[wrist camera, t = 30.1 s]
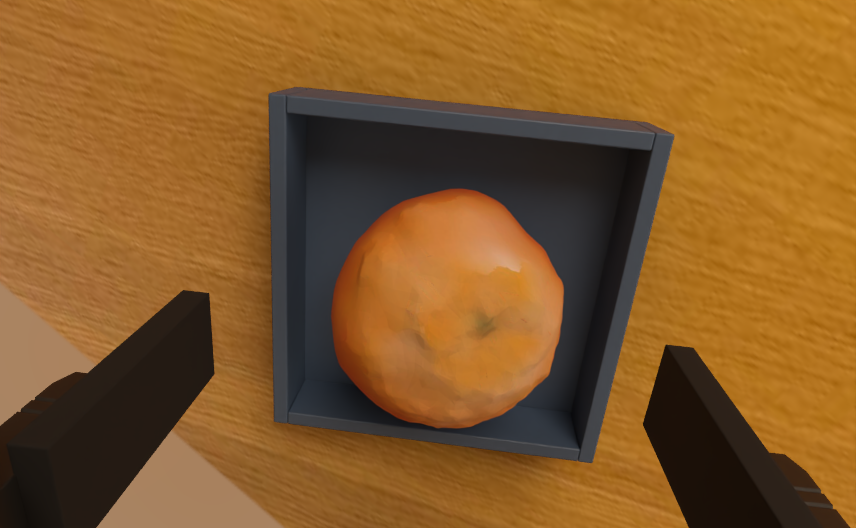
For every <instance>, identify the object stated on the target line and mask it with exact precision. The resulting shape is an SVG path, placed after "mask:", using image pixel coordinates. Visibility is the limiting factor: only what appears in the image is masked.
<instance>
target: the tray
mask: <svg viewBox="0 0 856 528" xmlns="http://www.w3.org/2000/svg"><path fill="white" fill-rule="evenodd" d="M673 140H674V134H672V133H669V132H667V131H665V130H663V129H661V128H658V127H656V126H654V125H652V124H650V123H647V122H638V121H628V120H618V119H608V118H598V117H588V116H578V115H569V114H559V113H549V112H539V111H529V110H519V109H509V108H499V107H490V106H480V105H470V104H460V103H450V102H440V101H430V100H421V99H411V98H401V97H391V96H381V95H371V94H361V93H352V92H342V91H332V90H322V89H312V88H302V87H294V88H291V89H286V90H282V91H277V92H273V93H269V146H270V207H271V268H272V329H273V390H274V422H279V423H289V424H295V425H303V426H310V427H318V428H326V429H334V430H341V431H349V432H357V433H364V434H372V435H380V436H388V437H395V438H403V439H411V440H419V441H426V442H434V443H442V444H450V445H457V446H465V447H473V448H480V449H488V450H496V451H504V452H511V453H519V454H527V455H535V456H542V457H550V458H558V459H565V460H573V461H577V460H578V461H580V462H587V463H592V462H593V458H594V454H595V450H596V446H597V442H598V438H599V434H600V430H601V426H602V422H603V418H604V414H605V410H606V406H607V402H608V399H609V395H610V391H611V387H612V383H613V379H614V375H615V371H616V367H617V363H618V359H619V355H620V351H621V347H622V343H623V339H624V335H625V331H626V327H627V323H628V319H629V315H630V311H631V307H632V303H633V299H634V295H635V291H636V287H637V283H638V279H639V275H640V271H641V267H642V263H643V259H644V255H645V251H646V247H647V243H648V239H649V235H650V231H651V227H652V223H653V219H654V215H655V211H656V207H657V203H658V199H659V195H660V191H661V187H662V183H663V179H664V175H665V171H666V167H667V163H668V159H669V155H670V151H671V147H672V144H673ZM447 189H468V190H474V191H478V192H480V193H483V194H485V195H487V196H489V197H491V198H493V199H495V200H497V201H498V202H500V203H501V204H502V205H504V206H505V207H506V208H507V210H508V211H509V212H510V213H511V214H512V215H513V217H514V218H515V219H516V220H517V222H518V223H519V224H520V225H521V226H522V228H523V229H524V230H525V231H526V232H527V233H528V234H529V235H530V236H531V237H532V238H533V239H534V240H535V241H536V242H537V243H538V244H540V245H541V246H542V247H543V249H544V250H545V251H546V253H547V255H548V257H549V259H550V262H551V264H552V266H553V267H554V269H555V271H556V273H557V275H558V277H559V278H560V279H561V281H562V283H563V287H564V296H563V313H562V323H561V327H560V337H559V342H558V344H557V346H556V349H555V353H554V359H553V362H552V365H551V369H550V373H549V375H548V377H547V378H545V379H544V380H543V381H542V382H541V383H540V384H538V385H537V386H536V387H535V388H534V389H533V390H532V391H531V392H530V393H529V394H528V395H527V397H525V398H524V399H523V400H521V401H519V402H518V403H517V404H516V405H515V406H514V407H513V408H512V409H510V410H508V411H507V412H505V413H504V414H502V415H500V416H498V417H495V418H491V419H489V420H486V421H482V422H481V423H479V424H476V425H474V426H472V427H466V428H435V427H432V426H427V425H425V424H421V423H414V422H407V421H404V420H402V419H399V418H397V417H395V416H393V415H392V414H390V413H389V412H387V411H385V410H383V409H382V408H380V407H379V406H377V405H376V404H375V403H374V402H373V401H371V400H370V399H369V398H368V397H367V396H366V395H365V394H364V393H363V392H362V391H361V390H360V389H359V388H358V387H357V386H356V385H355V384H354V383H353V381H352V380H351V379H350V378H349V377H348V375H347V374H346V373H345V372H344V371H343V369H342V368H341V366H340V364H339V362H338V359H337V356H336V352H335V347H334V340H333V330H332V320H331V310H332V302H333V294H334V289H335V284H336V281H337V278H338V276H339V274H340V271H341V269H342V267H343V265H344V263H345V261H346V259H347V257H348V255H349V253H350V251H351V249H352V248H353V246H354V244H355V243H356V241H357V240H358V239H359V238H360V237H361V236H362V235H363V234H364V233H365V232H366V231H367V229H368V228H369V227H370V226H371V225H372V224H373V223H374V222H375V221H376V220H377V219H378V218H379V217H380V216H381V215H382V214H383V213H385V212H386V211H387V210H389V209H390V208H392V207H394V206H395V205H397V204H399V203H400V202H402V201H405V200H408V199H411V198H415V197H419V196H422V195H426V194H430V193H434V192H439V191H443V190H447Z"/></svg>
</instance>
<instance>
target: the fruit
mask: <svg viewBox="0 0 856 528" xmlns="http://www.w3.org/2000/svg"><path fill="white" fill-rule="evenodd" d="M563 296H564V287H563V283H562V281H561V279H560V278H559V277H558V275H557V273H556V271H555V269H554V267H553V266H552V264H551V262H550V259H549V257H548V255H547V253H546V251H545V250H544V249H543V247H542V246H541V245H540V244H538V243H537V242H536V241H535V240H534V239H533V238H532V237H531V236H530V235H529V234H528V233H527V232H526V231H525V230H524V229H523V228H522V226H521V225H520V224H519V223H518V222H517V220H516V219H515V218H514V217H513V215H512V214H511V213H510V212H509V211H508V210H507V208H506V207H505V206H504V205H502V204H501V203H500V202H498V201H497V200H495V199H493V198H491V197H489V196H487V195H485V194H483V193H480V192H478V191H474V190H468V189H447V190H443V191H439V192H434V193H430V194H426V195H422V196H419V197H415V198H411V199H408V200H405V201H402V202H400V203H399V204H397V205H395V206H394V207H392V208H390V209H389V210H387V211H386V212H385V213H383V214H382V215H381V216H380V217H379V218H378V219H377V220H376V221H375V222H374V223H373V224H372V225H371V226H370V227H369V228H368V229H367V231H366V232H365V233H364V234H363V235H362V236H361V237H360V238H359V239H358V240H357V241H356V243H355V244H354V246H353V248H352V249H351V251H350V253H349V255H348V257H347V259H346V261H345V263H344V265H343V267H342V269H341V271H340V274H339V276H338V278H337V281H336V284H335V289H334V294H333V302H332V310H331V320H332V330H333V340H334V347H335V352H336V356H337V359H338V362H339V364H340V366H341V368H342V369H343V371H344V372H345V373H346V374H347V375H348V377H349V378H350V379H351V380H352V381H353V383H354V384H355V385H356V386H357V387H358V388H359V389H360V390H361V391H362V392H363V393H364V394H365V395H366V396H367V397H368V398H369V399H370V400H371V401H373V402H374V403H375V404H376V405H377V406H379V407H380V408H382V409H383V410H385V411H387V412H389V413H390V414H392V415H393V416H395V417H397V418H399V419H402V420H404V421H407V422H414V423H421V424H425V425H427V426H432V427H435V428H466V427H472V426H474V425H476V424H479V423H481V422H482V421H486V420H489V419H491V418H495V417H498V416H500V415H502V414H504V413H505V412H507V411H508V410H510V409H512V408H513V407H514V406H515V405H516V404H517V403H518V402H519V401H521V400H523V399H524V398H525V397H527V395H528V394H529V393H530V392H531V391H532V390H533V389H534V388H535V387H536V386H537V385H538V384H540V383H541V382H542V381H543V380H544V379H545V378H547V377H548V375H549V373H550V369H551V365H552V362H553V359H554V353H555V349H556V346H557V344H558V342H559V337H560V327H561V323H562V313H563Z"/></svg>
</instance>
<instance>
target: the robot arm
mask: <svg viewBox="0 0 856 528" xmlns="http://www.w3.org/2000/svg"><path fill="white" fill-rule="evenodd" d="M213 375H214V360H213V345H212V330H211V315H210V300H209V293H203V292H194V291H185V290H183V291H182V292H181V293H179V294H178V295H177V296H176V297H175V298H174V299H172V300H171V301H170V302H169V303H168V304H167V305H166V306H164V307H163V308H162V309H161V310H160V311H159V312H158V313H156V314H155V315H154V316H153V317H152V318H151V319H149V320H148V321H147V322H146V323H145V324H144V325H143V326H141V327H140V328H139V329H138V330H137V331H136V332H134V333H133V334H132V335H131V336H130V337H129V338H128V339H126V340H125V341H124V342H123V343H122V344H121V345H120V346H118V347H117V348H116V349H115V350H114V351H113V352H111V353H110V354H109V355H108V356H107V357H106V358H105V359H103V360H102V361H101V362H100V363H99V364H98V365H97V366H95V367H94V368H93V369H92V370H91V371H90V372H89V373H80V372H75V373H73V374H71V375H68V376H66V377H64V378H62V379H60V380H58V381H56V382H54V383H52V384H51V385H50V386H48V387H47V388H46V389H45V390H44V391H43V392H41V393H40V394H39V395H37V396H36V397H35V400H31V401H30V402H29V403H28V404H27V405H25V406H24V407H23V408H22V409H21V412H17V413H16V414H14V415H13V416H12V417H11V418H9V419H8V420H7V421H6V422H5V423H3V424H2V425H1V426H0V528H96V527H97V526H98V525H99V523H100V522H101V521H102V520H103V518H104V517H105V516H106V514H107V513H108V512H109V510H110V509H111V508H112V506H113V505H114V504H115V503H116V501H117V500H118V499H119V497H120V496H121V495H122V493H123V492H124V491H125V490H126V488H127V487H128V486H129V484H130V483H131V482H132V481H133V479H134V478H135V477H136V475H137V474H138V473H139V471H140V470H141V469H142V468H143V466H144V465H145V464H146V462H147V461H148V460H149V458H150V457H151V456H152V455H153V453H154V452H155V451H156V449H157V448H158V447H159V445H160V444H161V443H162V441H163V440H164V439H165V438H166V436H167V435H168V434H169V432H170V431H171V430H172V428H173V427H174V426H175V425H176V423H177V422H178V421H179V419H180V418H181V417H182V415H183V414H184V413H185V412H186V410H187V409H188V408H189V406H190V405H191V404H192V402H193V401H194V400H195V399H196V397H197V396H198V395H199V393H200V392H201V391H202V389H203V388H204V387H205V386H206V384H207V383H208V382H209V380H210V379H211V378H212V376H213ZM643 426H644V428H645V430H646V433H647V435H648V437H649V439H650V442H651V444H652V446H653V448H654V451H655V453H656V455H657V457H658V459H659V462H660V464H661V466H662V468H663V471H664V473H665V475H666V477H667V480H668V482H669V484H670V486H671V489H672V491H673V493H674V495H675V497H676V500H677V502H678V504H679V506H680V509H681V511H682V513H683V515H684V518H685V520H686V522H687V524H688V527H689V528H850V527H849V526H848V524H847V523H846V522H845V521H844V519H843V518H842V517H841V515H840V514H839V513H838V512H837V510H836V509H833V505H832V504H831V503H830V501H829V500H828V499H827V497H826V496H825V495H824V494H821V490H820V488H819V487H818V486H817V485H816V483H815V482H814V481H813V479H812V478H811V477H810V476H809V474H808V473H807V472H806V471H805V470H804V469H802V468H801V467H800V466H799V465H797V464H796V463H795V462H794V461H792V460H791V459H790V458H789V457H787V456H786V455H784V454H776V453H769V452H768V451H767V449H766V448H765V446H764V445H763V444H762V442H761V441H760V440H759V438H758V437H757V435H756V434H755V433H754V431H753V430H752V428H751V427H750V426H749V424H748V423H747V422H746V420H745V419H744V417H743V416H742V415H741V413H740V412H739V410H738V409H737V408H736V406H735V405H734V404H733V402H732V401H731V399H730V398H729V397H728V395H727V394H726V393H725V391H724V390H723V388H722V387H721V386H720V384H719V383H718V381H717V380H716V379H715V377H714V376H713V375H712V373H711V372H710V370H709V369H708V368H707V366H706V365H705V363H704V362H703V361H702V359H701V358H700V357H699V355H698V354H697V352H696V351H695V350H694V348H691V347H682V346H673V345H666V346H665V349H664V352H663V356H662V359H661V363H660V366H659V370H658V373H657V377H656V380H655V384H654V387H653V391H652V394H651V398H650V401H649V405H648V408H647V411H646V415H645V418H644V422H643Z"/></svg>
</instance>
